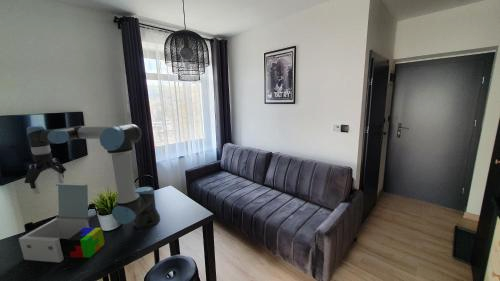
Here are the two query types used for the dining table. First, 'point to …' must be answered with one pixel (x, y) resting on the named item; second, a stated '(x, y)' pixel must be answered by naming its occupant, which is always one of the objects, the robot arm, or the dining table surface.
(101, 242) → the puzzle toy
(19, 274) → the dining table surface
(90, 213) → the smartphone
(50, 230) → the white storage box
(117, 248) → the dining table surface
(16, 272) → the dining table surface
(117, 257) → the dining table surface
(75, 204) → the lid
